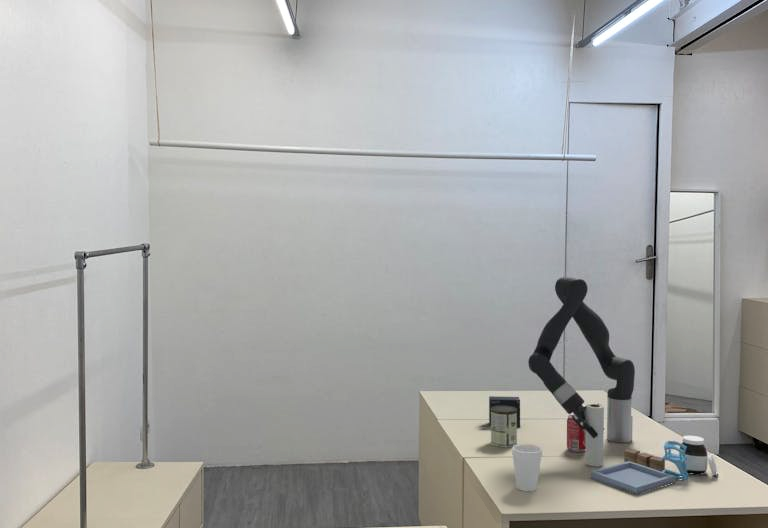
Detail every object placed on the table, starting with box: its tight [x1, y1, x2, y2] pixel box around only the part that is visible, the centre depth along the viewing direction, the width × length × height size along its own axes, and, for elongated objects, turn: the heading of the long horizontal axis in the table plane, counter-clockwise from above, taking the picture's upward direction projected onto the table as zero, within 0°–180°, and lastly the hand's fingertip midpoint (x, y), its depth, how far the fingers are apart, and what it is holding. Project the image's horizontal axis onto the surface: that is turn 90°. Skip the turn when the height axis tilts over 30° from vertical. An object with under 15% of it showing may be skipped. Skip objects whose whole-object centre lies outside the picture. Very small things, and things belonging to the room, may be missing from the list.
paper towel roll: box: [584, 403, 605, 468], centre depth 244 cm, size 7×6×21 cm
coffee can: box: [490, 405, 518, 448], centre depth 269 cm, size 10×10×14 cm
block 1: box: [623, 448, 641, 463], centre depth 248 cm, size 4×4×4 cm
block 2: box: [637, 452, 655, 467], centre depth 244 cm, size 4×4×4 cm
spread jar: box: [678, 435, 719, 476], centre depth 237 cm, size 12×11×12 cm
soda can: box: [566, 414, 586, 453], centre depth 261 cm, size 7×7×13 cm
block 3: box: [649, 455, 666, 471], centre depth 240 cm, size 4×4×4 cm
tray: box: [590, 461, 676, 495], centre depth 228 cm, size 20×18×2 cm
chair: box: [662, 440, 689, 481], centre depth 232 cm, size 8×8×12 cm
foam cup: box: [511, 443, 543, 492], centre depth 221 cm, size 10×9×13 cm
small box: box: [488, 395, 521, 428], centre depth 296 cm, size 13×7×12 cm, turn 84°
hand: (599, 433), depth 244 cm, fingers open, 8 cm apart
